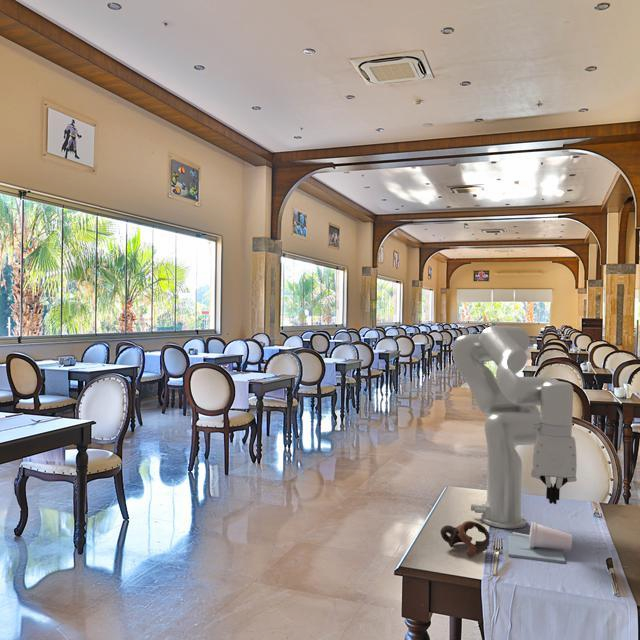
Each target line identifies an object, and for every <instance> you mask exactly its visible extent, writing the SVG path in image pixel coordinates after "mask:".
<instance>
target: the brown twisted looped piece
mask: <svg viewBox="0 0 640 640" xmlns="http://www.w3.org/2000/svg"><path fill="white" fill-rule="evenodd" d="M474 527H475V528H476V529H477V532H479V533H481V534H484V536H485V539H484V540H475V544H474V543H473V542H472V541H473V537H472V536H470V535H468V534H467V532H468V531H469V530H472V529H474ZM448 534H450V535H448ZM440 535H441V539H442V540H444V542H446V543H448V546H449V547H450V548H453V547H454V546H455V545H456V544H459V543H464V545H465V546H467V547H468V549H467V551H466V556H467V557H469V558H473V557H474V556H475V555H479V554H481V553H483V552H485V551H486V550H488V548H489V546H490V538H491V537H490V532H489V531H488V530H487V528H486V527H485V526H484V525H482V524H481V523H479V522H475V521H472V520H467V521H464V522H463V523H461V524H460V525H458V526H456V527H454V526H452V525H444V526H443V527H441V529H440Z"/></svg>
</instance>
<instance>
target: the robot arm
mask: <svg viewBox="0 0 640 640" xmlns="http://www.w3.org/2000/svg"><path fill="white" fill-rule="evenodd" d="M530 342H531V341H530V337H529V334H528V333H527V331H526V329H524V328H522V327H520V326H514V325H512V326H511V325H491V326H489V327H486V328H485V329H483V330H481V332H480V333H468V334H462V335H460V336H458V337H456V338H455V340H454V342H453V345H452V357H453V362H454V365H455V366H456V369H457V371H458V373H459V374H460V375H461V376H462V378H463V379H464V381H465V382H466V384H467V385H468V387H469V390H470V392H471V394H472V396H473V398H474V400H475V403H476V405H477V406H478V408H479V410H480V412H481V413H482V414H483V415H485V416H488V417H487V418H486V419H485V422H484V433H485V439H486V445H487V448H486V449H487V478H486V480H487V481H486V483H487V484H486V485H487V486H486V501H485V504H483V503H482V504H476V503H471V504H470V511H472V512H474V513H475V514H481V515H480V519H481V521H482V522H483V523H484V524H486V525H488V526H491V527H495V528H499V529H500V528H501V529H512V530H513V529H521V528H524V527H525V526H526V525H527V524H528V523H527V522H528V521H527V519H526V518H525V517H524V516H522V484H523V483H522V481H523V477H522V476H523V465H522V464H523V463H522V459H521V456H520V455H519V453H518V451H517V450H516V448H515V446H517V447H518V446H531V445H534V446H533V454H532V470H531V472H530V474H531V475H530V476H531V477H532V478H534V479H538V480H540V481H542V483H544V485H545V486H546V493H545V494H546V499H547V500H548V503H549V505H551V504H553V505H557V501H560V494H561V493H560V492H561V491H560V490H561V488H562V487H563V486H565V485H566V484H567V483H574V482H577V480H578V479H577V465H578V464H577V462H578V461H577V444H576V440H575V439H576V438H575V437H574V436H573V433H572V431H573V409H574V408H573V407H574V406H573V405H574V404H573V403H574V387H573V385H572V384H571V383H569V382H566V381H559V380H558V379H556V378H554V377H551V376H550V377H549V376H517V375H516V374H518V373H519V372H520V371H522V370H523V368H525V366H526V364H527V361H528V356H527V353H526V352H527V351H528V349H529V348H530ZM482 361H483V362H484V361H486V362H487V361H489V362H490V361H492V362H494V364H495V365H496V366H497V368H496V371H495V374H494V373H493V371H492V370H491V369H490V368H489V367H488V366H487V365H485V364H484V363H482ZM538 406H540V409H539V408H538ZM552 478H555V482H554V484H553V483H552V480H551V479H552Z"/></svg>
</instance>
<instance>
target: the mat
mask: <svg viewBox="0 0 640 640" xmlns="http://www.w3.org/2000/svg"><path fill="white" fill-rule="evenodd" d="M507 551H508V552H507V555H508V557H510V558H519V559H527V560H534V561H535V560H536V561H543V562H551V563H558V564H560V563H561V564H566V559H565V555H564V552H563V549H555V548H541V547H534V548H531V547H529V537H524V536H519V535H509V534H508V535H507Z"/></svg>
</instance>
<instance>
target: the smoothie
mask: <svg viewBox="0 0 640 640" xmlns="http://www.w3.org/2000/svg"><path fill="white" fill-rule="evenodd" d="M529 528H530V529H529V534H524V533H520V532H515V531H512V535H513V536H520V537H528V538H529V547H531V548H534V547H541V548H555V549H562V550H572V546H573V534H572V533H569V532H565V531H563V530H559V529H555V528H552V527H549V526H546V525H542V524H539V523H537V522H536V521H531V522H530V527H529Z"/></svg>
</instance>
